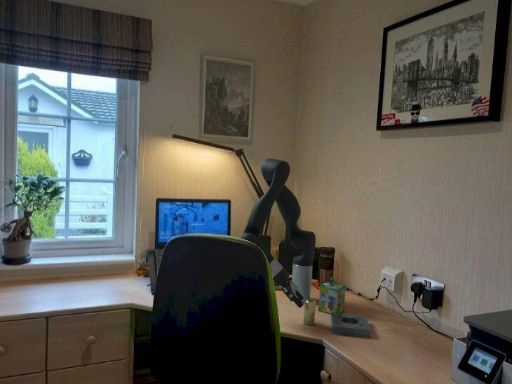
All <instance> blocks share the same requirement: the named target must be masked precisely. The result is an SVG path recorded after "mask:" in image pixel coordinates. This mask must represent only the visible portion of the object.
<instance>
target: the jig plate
mask: <svg viewBox="0 0 512 384" xmlns="http://www.w3.org/2000/svg"><path fill="white" fill-rule="evenodd" d="M330 326H331V333H332V335H339V336H349V337H358V338H359V337H360V338H365V339H366V338H368V339H371V334H372V332H371V331H372V329H371V327H370V325H369V322H368V320H367V317H366V315H365V314H363V315H362V314H353V313H343V312H341V313H335V312H331V313H330Z"/></svg>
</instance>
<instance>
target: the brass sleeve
mask: <svg viewBox="0 0 512 384" xmlns="http://www.w3.org/2000/svg"><path fill="white" fill-rule="evenodd" d="M316 303H317V301H316V300H315V299H314V298H310V299H306V300H305V303H304V305H303V306H304V309H303V322H302V323H303V325H305V326H307V327H313V325H314V326H315V321H316V320H315V319H316V306H317V304H316Z"/></svg>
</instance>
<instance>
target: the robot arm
mask: <svg viewBox="0 0 512 384" xmlns="http://www.w3.org/2000/svg"><path fill="white" fill-rule="evenodd" d="M260 171H261V175H262V177H263V180H264V182H265V183H266V185H267V186H268V189H267V190H266V192H265V193H264V194H263V195H262V196H261V197H260V198H259V199H258V200H257V201H256V202H255V203H254V205H253V207H252V209H251V211H250V214H249V216H248V219H247V223H246V226H245V228H244V229H243V230H244V231H243V232H242V235H241V238H242V239H245V240H248V241H250V242H252V243H254V244H256V245H257V246H259V247H260V248H261V249H262V250H263V251H264V253H265V254H266V256H267V258H268V261H269V263H270V266H271V269H272V274H273V280H274V284H273V286H274V287H275V288H279V287H280V286H281V287H282V289H281V291H282V292H283V294H284V295H285V296H286V297H287V298H288V300H289V301H290V302H293V303H294V304H295V305H296V306H297V307H298V308H299V309H301V308H303V306H304V303H302V302H305V300H306V299H311V294H312V281H313V280H312V279H313V264H314V263H313V262H314V258H315V251H316V243H317V241H316V239H317V238H316V234H315V232H313V231H309V230H303V229H300V227H299V225H298V221H299V219H300V217H301V214H302V209H301V206H300V203H299V201H298V198H297V196H296V195H295V194H294V193H293V192H292V190H291V189H289V188H288V186H287V185H286V183H287V181H288V179H289V176H290V175H291V165H290V164H289V162H287V161H286V160H283V159H282V160H281V159H277V158H269V157H268V158H266V159H264V160H263V161H262V163H261V166H260ZM275 203H276V206H277V208H278V211H279V213H280V215H281V218H282V220H283V222H284V225H285V228H286V231H287V233H288V237H289V241H290V244H291V246H292V247H293V248H294V249H295V250H296V249H297V250H300V251H303V252H302V254H301V255H298V256H297V255H296V256H294V257H293V259H292V273H291V274H292V275H291V279H290V278H289V277H290V273H289V272H288V271H287V270H286V269H285V268H284V266H283V265H282V264H281V263H280V262H279V260H278V259H276V258H275V257H274V256H273V255H272V253H270V251H269V250H268V249H267V248H266V247H265V246H264V245H263V244H262V242H261V241H260V240H259V239H260V236H261V232H262V230H263V229H264V227H265V224H266V222H267V220H268V217H269V214H270V211H271V210H272V208H273V205H274V204H275ZM241 238H240V239H241Z"/></svg>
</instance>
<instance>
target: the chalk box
mask: <svg viewBox="0 0 512 384" xmlns="http://www.w3.org/2000/svg"><path fill="white" fill-rule="evenodd" d="M346 288H347V287H346V285H344V284H339V283H336V282H335V278H334V276H331V277H330V278H329V281H326V282H324V283H322V284H320V285H319V293H318V295H319V297H318V312H321V311H322V312H321V313H327V314H331V312H335V313H343V310H344V311H345V304H346V303H345V302H346Z"/></svg>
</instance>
